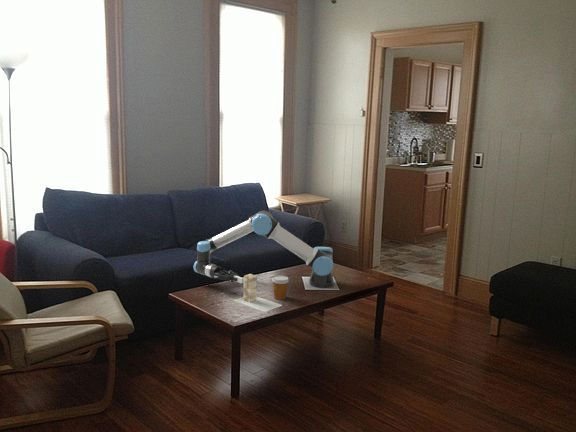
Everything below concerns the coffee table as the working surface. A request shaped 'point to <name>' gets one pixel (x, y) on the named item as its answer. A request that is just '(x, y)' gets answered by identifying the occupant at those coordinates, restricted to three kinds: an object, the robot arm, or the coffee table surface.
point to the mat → (259, 304)
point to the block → (250, 288)
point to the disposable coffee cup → (280, 287)
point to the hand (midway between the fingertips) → (242, 280)
